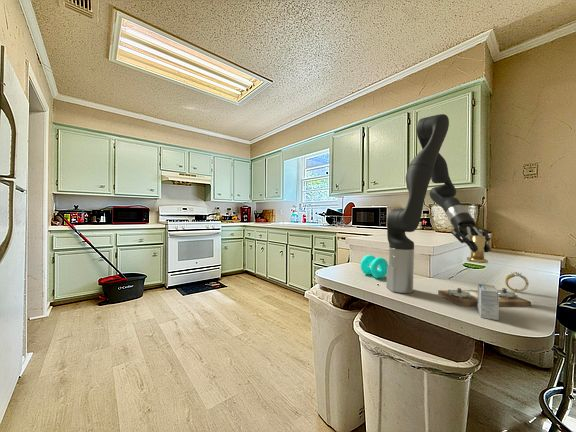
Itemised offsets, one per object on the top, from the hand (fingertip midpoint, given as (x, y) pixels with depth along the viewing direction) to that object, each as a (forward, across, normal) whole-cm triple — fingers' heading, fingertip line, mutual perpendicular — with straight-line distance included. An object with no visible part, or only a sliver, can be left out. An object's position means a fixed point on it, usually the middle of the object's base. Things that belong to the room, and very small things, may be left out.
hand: (481, 250), depth 94 cm
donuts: (-8, -29, +34) cm, 45 cm away
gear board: (+14, -2, +11) cm, 18 cm away
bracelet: (+8, +20, +16) cm, 28 cm away
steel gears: (+13, -2, +10) cm, 17 cm away
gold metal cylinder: (+2, 0, +5) cm, 5 cm away
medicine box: (+24, -11, +2) cm, 26 cm away
